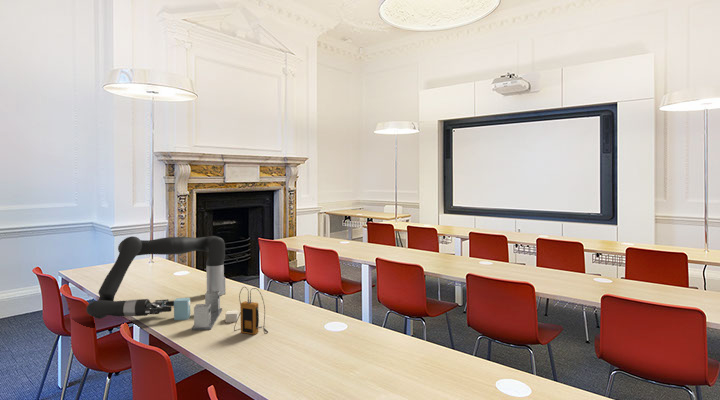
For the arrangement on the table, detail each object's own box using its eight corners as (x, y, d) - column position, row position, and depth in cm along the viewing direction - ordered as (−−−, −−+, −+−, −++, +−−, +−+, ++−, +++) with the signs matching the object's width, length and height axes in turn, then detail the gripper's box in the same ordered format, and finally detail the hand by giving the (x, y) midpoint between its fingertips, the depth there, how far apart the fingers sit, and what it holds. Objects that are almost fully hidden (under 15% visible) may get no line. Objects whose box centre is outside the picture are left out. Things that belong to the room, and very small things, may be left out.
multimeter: (275, 328, 173) (274, 283, 172) (262, 336, 164) (262, 289, 163) (246, 324, 178) (246, 280, 177) (233, 332, 169) (232, 286, 168)
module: (177, 316, 187) (176, 298, 187) (191, 316, 188) (190, 297, 188) (174, 320, 183) (173, 301, 182) (188, 319, 184) (188, 300, 183)
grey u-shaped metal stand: (205, 310, 196) (205, 291, 195) (222, 310, 197) (222, 290, 197) (191, 330, 170) (191, 307, 170) (211, 329, 171) (210, 306, 171)
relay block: (227, 319, 185) (227, 310, 185) (238, 318, 186) (238, 310, 186) (225, 322, 180) (225, 314, 180) (236, 322, 181) (236, 313, 181)
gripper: (130, 304, 175) (169, 302, 177) (142, 295, 189) (178, 293, 192) (130, 321, 175) (169, 319, 178) (143, 310, 189) (178, 308, 192)
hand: (174, 306), depth 185 cm, fingers open, 8 cm apart
